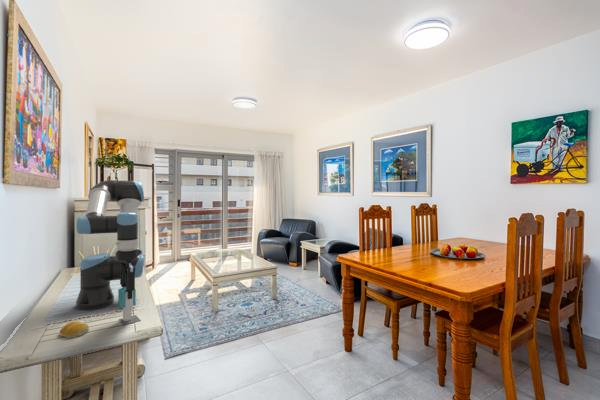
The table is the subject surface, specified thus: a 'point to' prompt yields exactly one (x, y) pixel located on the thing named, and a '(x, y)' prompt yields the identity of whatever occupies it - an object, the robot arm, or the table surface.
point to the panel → (133, 319)
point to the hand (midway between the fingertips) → (127, 304)
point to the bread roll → (74, 329)
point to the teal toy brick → (122, 297)
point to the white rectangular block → (127, 313)
